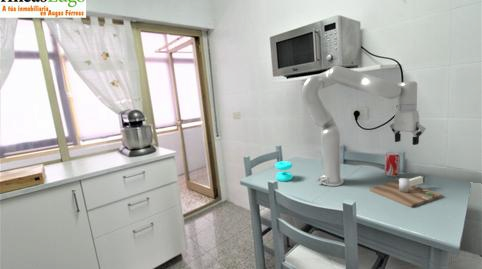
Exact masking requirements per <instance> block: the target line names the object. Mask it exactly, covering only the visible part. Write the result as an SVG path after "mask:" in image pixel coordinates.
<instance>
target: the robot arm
mask: <svg viewBox="0 0 482 269" xmlns="http://www.w3.org/2000/svg"><path fill="white" fill-rule="evenodd" d="M335 84H337V85H341V86H344V87H346V88H350V89H353V90H356V91H359V92H366V93H370V94H373V95H375V96H378V97H379V96H380V97H382V98H384V99H387V100H394V99H397V105H395V107H396V109H397V110H395V113H394V119H393V123H391V124H390V125H389V127H390V129H391V131H392V132H393V134H394V142H395V143H398V142H401V139H402V138H401V137H402V136H401V135H402V134H401V132H405V133H412V135H413V136H412V145H413V146H415V145H419V143H420V136H421V135H422V134H423V133H424V132H425V130H427V129H426V127H425V126H424V125H422V124H420V115H419V110H418V109H417V107H418V104H417V103H418V82H417V81H415V80H412V81H411V80H410V81H402V82H394V81H389V80H387V79H384V78H379V77H376V76H373V75H371V74H367V73H365V72H360V71H357V70H354V69H351V68H347V67H344V66H340V65H333V66H332V67H331V68H329V69H328V70H326V71H323V72H321V73H319V74H316V75H311V76H309V77H308V78H307V79H306V80H305V82H304V84H303V85H302V88H301V98H302V101H303V104H304V105H305V107H306V109H307V111H308V114H309V115H310V118H311V119H312V122H313V124H315V125H316V126H317V127H318V128H317V129H318V130H319V131H320V146H321V172H322V173H321V174H320V176H319V177H315V178H314V180H315V182H316V183H317V182H319V183H320V184H322V185H325V186H328V187H339V186H341V185H343V184H344V183H345V182H344V179H343V178H341V134H340V133H341V132H340V130H339V129H340V128H339V127H338V125H337V123H336V121H335V119H334V118H333V116H332V114H331V111H330V110H329V109H328V108H326V107H325V104H324V103H323V101H322V98H321V97H320V95H319V92H320V91H321V90H323V89H325V88H328V87H330V86H333V85H335Z"/></svg>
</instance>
